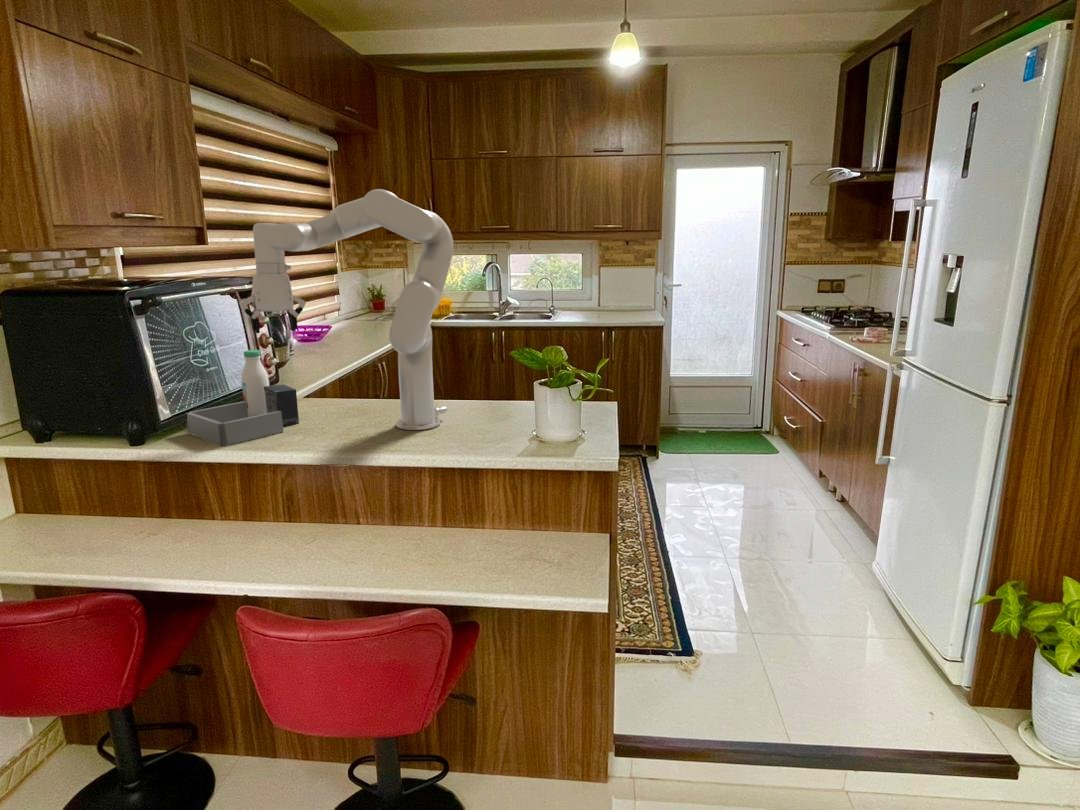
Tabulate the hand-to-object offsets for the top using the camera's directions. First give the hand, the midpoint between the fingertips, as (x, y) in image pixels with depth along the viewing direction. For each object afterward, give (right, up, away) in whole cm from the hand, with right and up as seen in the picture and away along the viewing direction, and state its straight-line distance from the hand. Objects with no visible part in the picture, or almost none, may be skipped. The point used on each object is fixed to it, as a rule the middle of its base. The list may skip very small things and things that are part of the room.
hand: (275, 331), depth 187 cm
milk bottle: (-13, -24, +20) cm, 33 cm away
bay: (-11, -28, 0) cm, 30 cm away
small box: (-2, -26, +11) cm, 28 cm away
